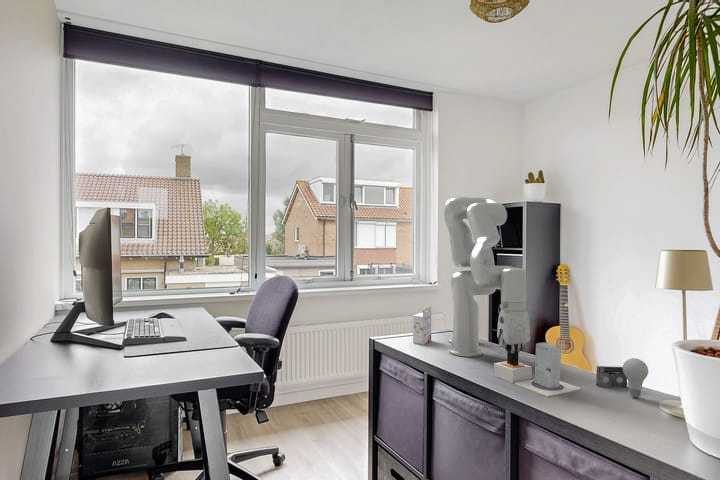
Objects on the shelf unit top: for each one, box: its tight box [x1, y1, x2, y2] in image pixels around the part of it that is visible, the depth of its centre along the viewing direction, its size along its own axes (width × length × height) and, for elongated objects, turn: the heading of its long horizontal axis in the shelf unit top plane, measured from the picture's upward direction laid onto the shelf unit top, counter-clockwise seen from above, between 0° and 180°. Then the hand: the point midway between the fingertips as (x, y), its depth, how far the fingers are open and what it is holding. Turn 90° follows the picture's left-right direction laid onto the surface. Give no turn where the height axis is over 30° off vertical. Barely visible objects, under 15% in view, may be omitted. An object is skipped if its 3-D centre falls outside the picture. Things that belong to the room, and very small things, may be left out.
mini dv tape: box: [595, 365, 628, 389], centre depth 135 cm, size 8×2×6 cm, turn 86°
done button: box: [501, 361, 524, 368], centre depth 143 cm, size 5×5×3 cm
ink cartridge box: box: [412, 306, 432, 345], centre depth 189 cm, size 9×5×15 cm, turn 147°
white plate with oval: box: [514, 378, 582, 398], centre depth 134 cm, size 12×14×1 cm
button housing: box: [493, 360, 533, 384], centre depth 143 cm, size 8×8×4 cm
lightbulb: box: [622, 357, 649, 399], centre depth 125 cm, size 6×6×11 cm
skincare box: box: [534, 341, 562, 388], centre depth 134 cm, size 6×4×12 cm
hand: (512, 364), depth 142 cm, fingers closed
